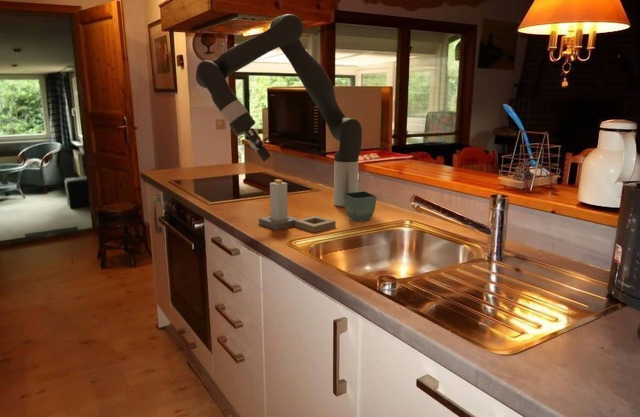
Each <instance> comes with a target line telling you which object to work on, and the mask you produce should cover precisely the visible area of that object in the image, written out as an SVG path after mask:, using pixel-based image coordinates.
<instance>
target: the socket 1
mask: <svg viewBox="0 0 640 417" xmlns="http://www.w3.org/2000/svg"><path fill="white" fill-rule="evenodd" d="M287 218H288V220H283V221H279V222H277V221H274V220H271V219H270V215H269V216H263V217H259V218H258V225H260V226H263V227H265V228H269V229H272V230H275V231H279V230H284V229H288V228H291V227H295V226H294V221H295V220H299V219H300V218H298V217H294V216H290V215H288V214H287Z"/></svg>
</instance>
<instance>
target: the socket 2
mask: <svg viewBox="0 0 640 417" xmlns="http://www.w3.org/2000/svg"><path fill="white" fill-rule="evenodd" d="M298 219H299V220H295V221H294V226H293V227H295V228H297V229H298V228H299V229H301V230H305V231H307V232H310V233H318V232H323V231H325V230H329V229H333V228H336V222H337V221H336V220H334V219H330V218H327V217H321V216H319V215H313V216H308V217H304V218H298Z"/></svg>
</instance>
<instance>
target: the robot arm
mask: <svg viewBox="0 0 640 417" xmlns="http://www.w3.org/2000/svg"><path fill="white" fill-rule="evenodd" d="M303 32H304V24H303V22H302V20H301V19H300V17H299V16H297V15H295V14H292V13H287V14H283V15H279V16H277V17H275V18H274V19H273V20H272V21H271V23H270V25H269V28H268V29H267V30H265V31H263V32H261V33H260V34H258V35H255V36H253V37H251V38H248V39H246V40H244V41H242V42H240V43H238V44H236V45H234V46H232V47H230V48H228V49H226V50H225V51H223V52H222V53H220V55H219V56H218V57H217V58H216V59H215V60H213V61H212V60H208V59H207V60H206V59H205V60H201V61H200V62H199V63H198V65H197V67H196V70H195V71H196V72H195V81H196V83H197V84H198V85H199V86H200V87H201V88H204V89H207V90H208V92H209V93H210V95H211V96H210V97H211V99H212V101H213V103H214V104H215V106H216V107H217V109H218V111H219V113H221V115H222V117H223V119H224V120H225V122H226V123H227V124H228V126H229V128H230V129H231V130H232V132H234V134H235V136H238V137H239V136H241V135H242V134H244V135H245V138H244V139H245V142H247V143H248V144H249V147H251V148H252V150H253V151H254V152H255V153H257V155H259V157H260V159H261V160H262V162H266V161H267V160H269V158H270V157H271V154H270V152H269V151H268V149H267V148H266V146H265V145H264V142H263V141H262V138H261V137H260V136H259V134H258V133H257V131H256V130H255V129H254V128H253V127H254V126H255V125H256V121H255V120H254V119H253V117H252V115H251V114H250V112H249V111H248V109H247V108H246V107H245V105H244V104H243V103H242V101H240V100H239V98H238V96H237V95H236V94H235V92H234V91H233V90H232V89H231V87H230V85H229V84H228V82H227V80H226V79H227V78H228V77H229V76H230V75H232V74H233V73H236V72H237V71H239V70H241V69H243V68H244V67H246V66H248V65H249V64H251V63H253V62H254V61H256V60H257V59H259V58H262V56H264V55H267V54H268V53H269V52H271V51H273V50H276V49H278V48H279V49H280V51H281V52H282V53H283V54H284V56H285V57H286V59H287V60H288V61H289V62H290V65H291V67H292V68H293V70H294V71H295V73H296V75H297V77H298V78H299V80H300V82H301V83H302V85H303V87H304V88H305V90H306V91H307V93H308V95H309V96H310V98H311V99H312V101H313V102H314V105H315V106H316V107H317V109H318V110H319V113H321V115H322V117H323V119H324V121H325V123H326V125H327V127H328V130H329V132H330V134H331V135H332V137H333V138H334V139H335V140H336V141H338V142H339V148H338V150H337V151H336V152H335V153H334V158H333V160H334V161H333V162H334V163H333V205H334V206H336V207H341V208H342V207H344V208H345V205H344V196H343V193H353V192H360V186H361V185H360V184H361V183H360V179H359V157H360V155H361V151H362V138H363V129H362V125H361V123H360V122H359V120H358V119H356V118H352V117H351V118H350V117H347V116H346V115H345V114H344V112H343V111H342V110H341V108H340V107H339V104H338V102H337V100H336V93H335V87H334V84H333V82H332V80H331V79H330V77H329V75H328V74H327V72H326V70H325V68H324V67H323V66H322V65H321V64H320V62H318V61H317V59H315V58H314V57H313V55H311V54H310V52H308V51H307V49H306V48H305V47H304V45H303V43H302V41H301V37H302V35H303Z"/></svg>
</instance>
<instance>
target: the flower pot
mask: <svg viewBox="0 0 640 417" xmlns="http://www.w3.org/2000/svg"><path fill="white" fill-rule="evenodd" d="M343 196H344V205H345V207H344V210H345V212H346V214H347V216H348V218H349V219H350V220H352V221H353V222H355V223H360V222H367V221H370V220H371V218H372V216H373V215H374V213H375V209H376V205H377V198H378V197H377V195H375V194H372V193H370V192H368V191H366V190H365V191H359V192H353V193H343Z"/></svg>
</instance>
